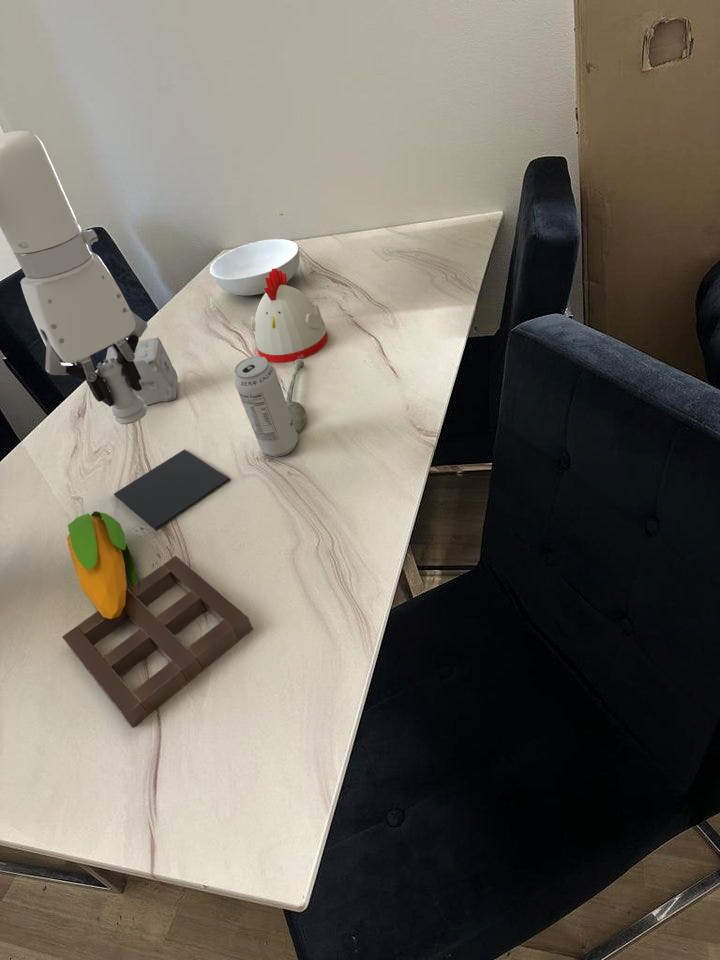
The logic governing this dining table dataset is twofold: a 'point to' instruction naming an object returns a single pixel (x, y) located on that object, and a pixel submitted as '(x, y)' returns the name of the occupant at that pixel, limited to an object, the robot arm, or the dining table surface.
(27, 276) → the robot arm
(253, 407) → the energy drink can
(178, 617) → the window frame
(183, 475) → the coaster
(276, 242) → the serving bowl
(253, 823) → the dining table surface
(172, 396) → the grey block
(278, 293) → the kitchen timer
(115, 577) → the corn
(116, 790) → the dining table surface
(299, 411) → the soupspoon
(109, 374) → the rook chess piece
